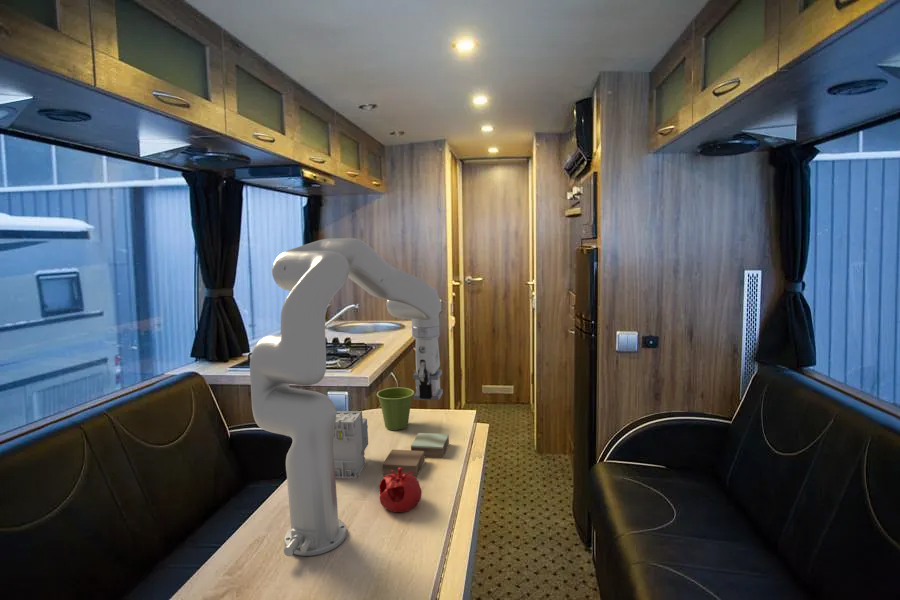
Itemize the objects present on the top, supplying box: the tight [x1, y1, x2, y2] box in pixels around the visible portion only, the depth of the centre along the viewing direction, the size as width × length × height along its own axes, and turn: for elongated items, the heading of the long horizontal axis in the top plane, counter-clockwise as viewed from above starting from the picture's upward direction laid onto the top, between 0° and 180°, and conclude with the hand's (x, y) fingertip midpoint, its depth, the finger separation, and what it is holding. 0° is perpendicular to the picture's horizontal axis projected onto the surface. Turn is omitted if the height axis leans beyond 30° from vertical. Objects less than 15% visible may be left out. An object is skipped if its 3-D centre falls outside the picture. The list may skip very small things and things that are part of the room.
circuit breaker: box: [333, 410, 369, 479], centre depth 143 cm, size 8×14×15 cm, turn 174°
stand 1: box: [381, 449, 426, 478], centre depth 141 cm, size 9×9×3 cm
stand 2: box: [410, 432, 450, 458], centre depth 152 cm, size 9×9×3 cm
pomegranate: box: [378, 467, 422, 513], centre depth 122 cm, size 10×10×9 cm
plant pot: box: [376, 386, 415, 431], centre depth 169 cm, size 12×12×11 cm
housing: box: [412, 368, 444, 401], centre depth 149 cm, size 6×7×7 cm
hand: (428, 393), depth 150 cm, fingers closed on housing, 6 cm apart
